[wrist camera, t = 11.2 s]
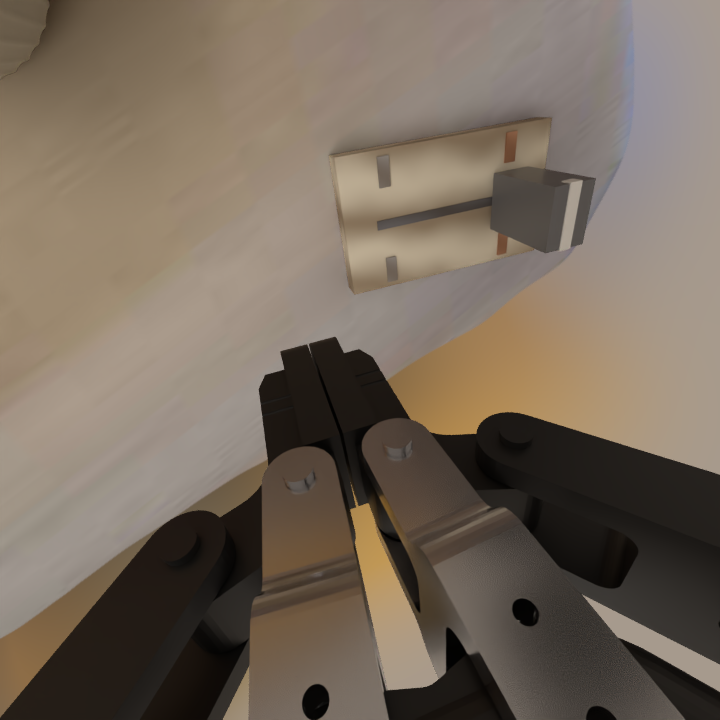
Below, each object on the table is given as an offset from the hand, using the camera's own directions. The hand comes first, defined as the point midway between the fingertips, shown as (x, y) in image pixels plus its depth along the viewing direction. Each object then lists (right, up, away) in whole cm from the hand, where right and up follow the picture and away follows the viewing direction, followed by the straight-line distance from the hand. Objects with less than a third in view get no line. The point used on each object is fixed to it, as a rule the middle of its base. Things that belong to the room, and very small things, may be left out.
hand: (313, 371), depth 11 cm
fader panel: (+9, +15, +27) cm, 32 cm away
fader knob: (+15, +16, +26) cm, 34 cm away
